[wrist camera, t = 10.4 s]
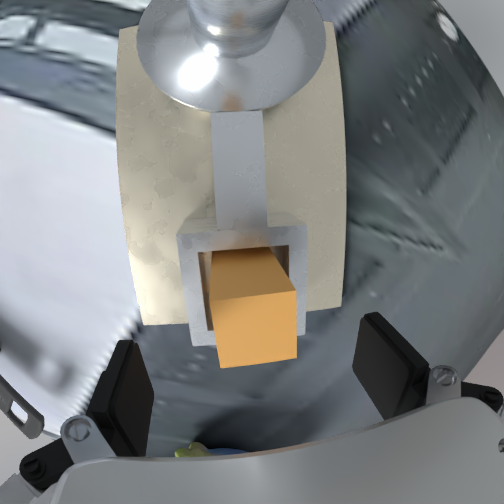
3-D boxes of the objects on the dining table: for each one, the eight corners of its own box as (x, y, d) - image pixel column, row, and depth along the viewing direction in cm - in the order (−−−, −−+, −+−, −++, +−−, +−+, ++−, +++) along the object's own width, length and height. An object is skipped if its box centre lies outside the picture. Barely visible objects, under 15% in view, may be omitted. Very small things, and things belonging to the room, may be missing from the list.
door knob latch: (124, 17, 16) (58, -82, 2) (326, 10, 18) (412, -79, 4) (145, 319, 25) (99, 453, 10) (336, 301, 26) (424, 411, 12)
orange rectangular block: (212, 242, 22) (209, 300, 13) (263, 237, 23) (296, 290, 13) (218, 289, 23) (220, 368, 14) (266, 284, 24) (296, 357, 14)
